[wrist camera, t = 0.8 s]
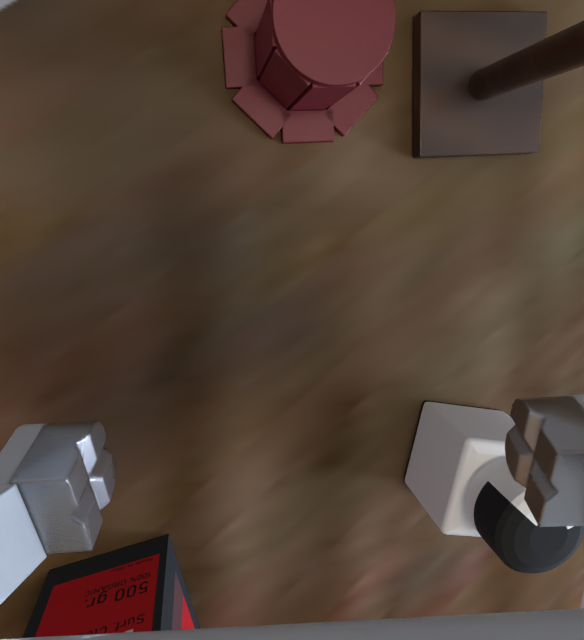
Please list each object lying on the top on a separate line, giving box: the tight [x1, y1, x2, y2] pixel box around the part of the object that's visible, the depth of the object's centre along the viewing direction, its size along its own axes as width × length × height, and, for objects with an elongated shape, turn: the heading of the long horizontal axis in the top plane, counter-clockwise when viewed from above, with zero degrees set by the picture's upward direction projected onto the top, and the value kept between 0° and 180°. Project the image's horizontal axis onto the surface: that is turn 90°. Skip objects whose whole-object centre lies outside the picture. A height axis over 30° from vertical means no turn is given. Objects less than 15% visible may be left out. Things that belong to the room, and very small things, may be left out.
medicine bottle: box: [405, 402, 584, 573], centre depth 37 cm, size 7×7×12 cm
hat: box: [222, 0, 396, 143], centre depth 30 cm, size 10×10×8 cm
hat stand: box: [413, 11, 584, 158], centre depth 29 cm, size 9×9×15 cm
